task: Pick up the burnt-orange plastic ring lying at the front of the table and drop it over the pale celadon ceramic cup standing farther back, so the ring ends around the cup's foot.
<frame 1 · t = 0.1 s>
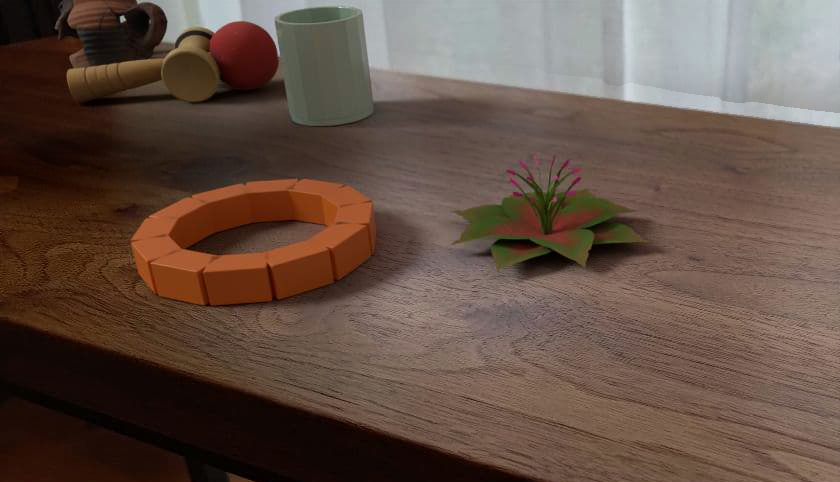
ring: (261, 252, 58), on the table
kendama: (180, 97, 89), on the table
lily flower: (546, 239, 58), on the table
cup: (332, 113, 82), on the table
pottery mug: (122, 66, 101), on the table
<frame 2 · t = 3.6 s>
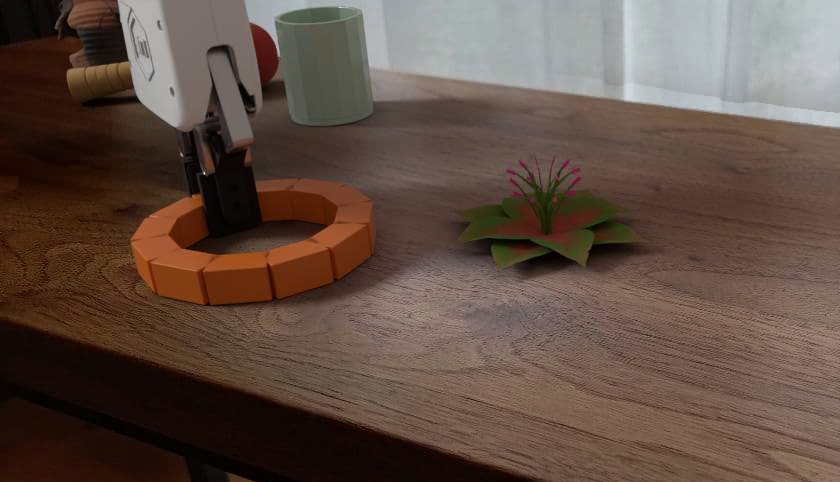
hand: (228, 220, 62), 0 cm above the table, tool pointing down, fingers closed on ring, 2 cm apart
ring: (261, 251, 58), on the table, touching gripper
everything else where it was.
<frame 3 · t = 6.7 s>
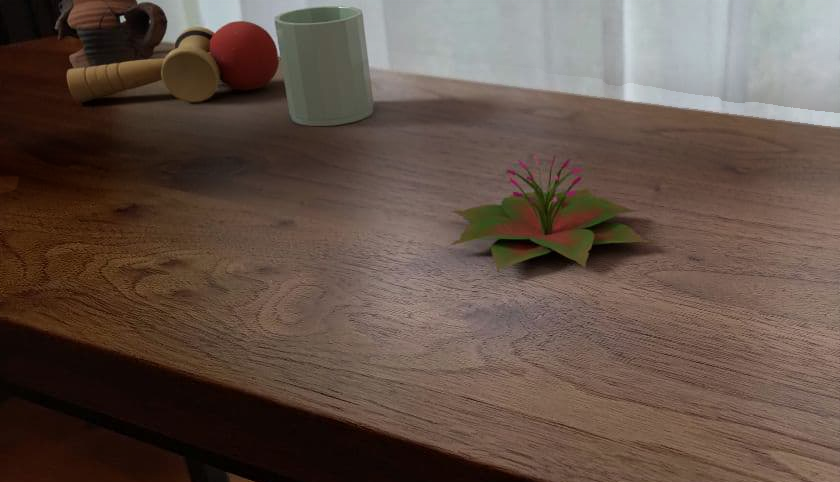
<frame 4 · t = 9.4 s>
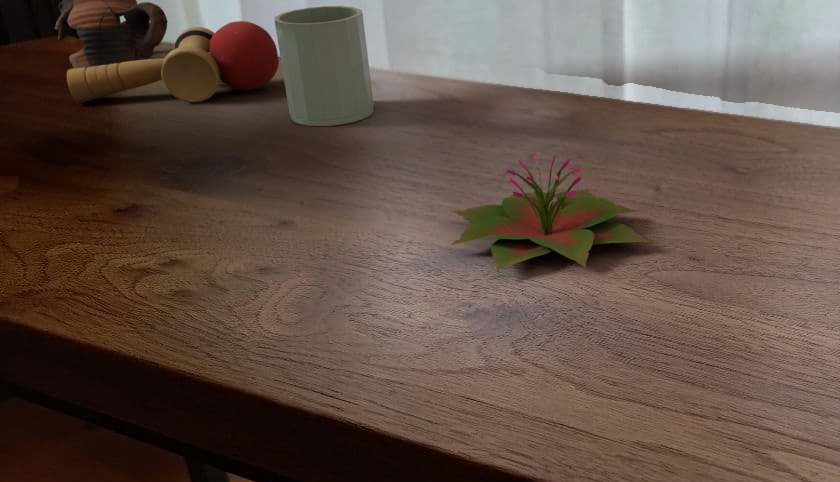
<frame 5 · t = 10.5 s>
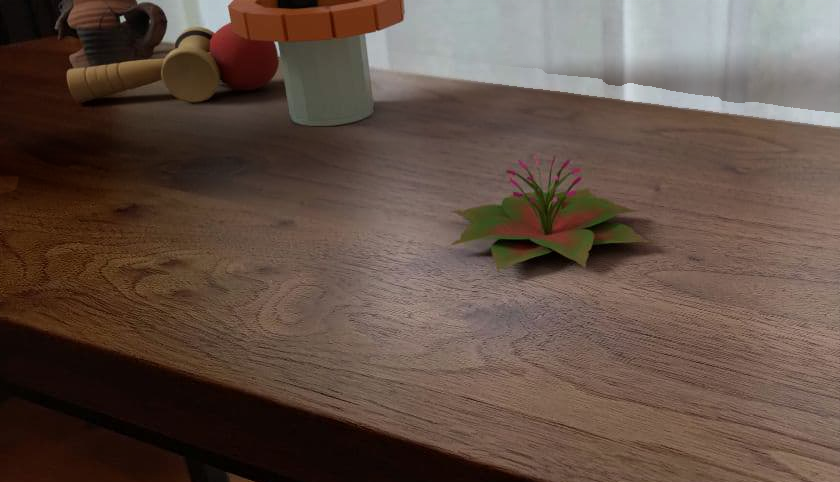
hand: (292, 10, 83), 8 cm above the table, tool pointing down, fingers closed on ring
ring: (320, 22, 79), point 7 cm above the table, touching gripper
everything else where it was.
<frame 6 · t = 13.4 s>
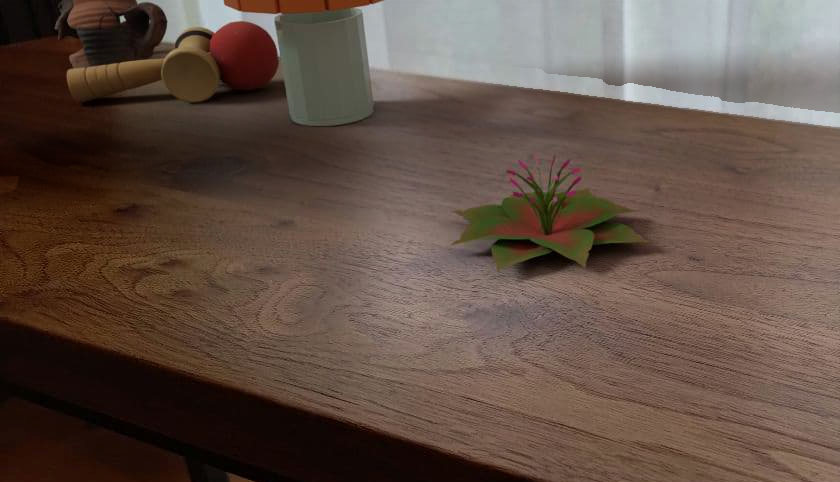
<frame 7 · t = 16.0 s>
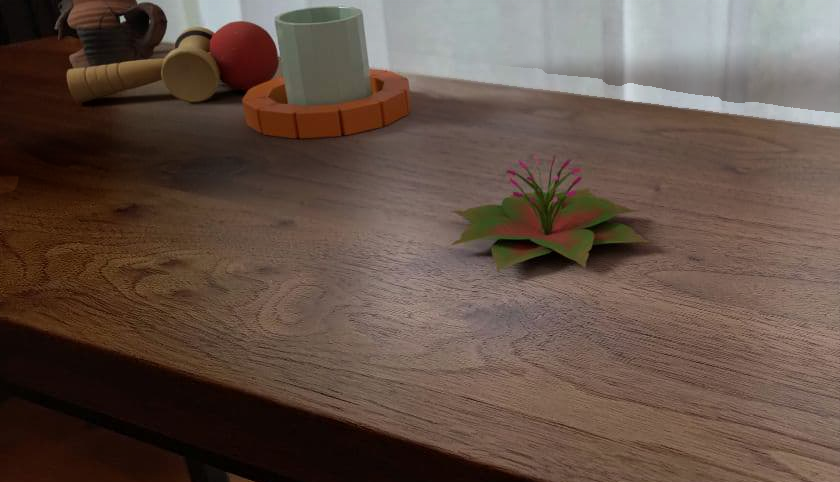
ring: (330, 112, 82), on the table
everything else where it was.
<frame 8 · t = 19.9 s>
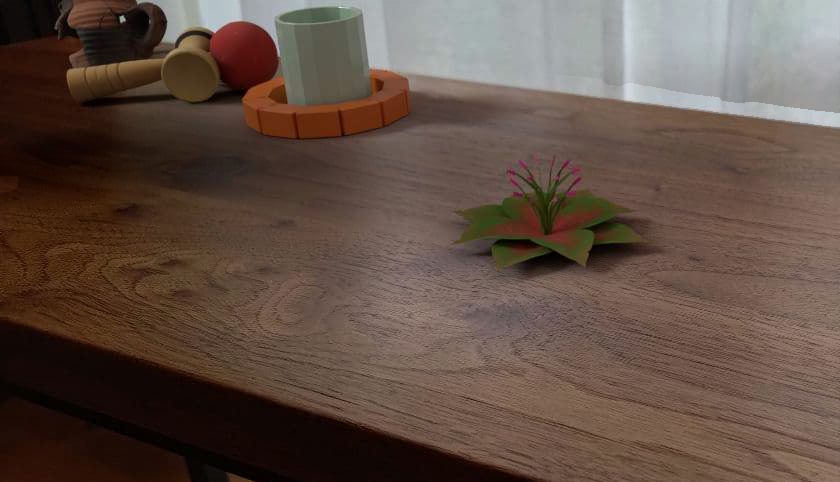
nothing on the table moved.
at the end: ring 0.4 cm from the cup (horizontally); ring on the table; the gripper is holding nothing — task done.
